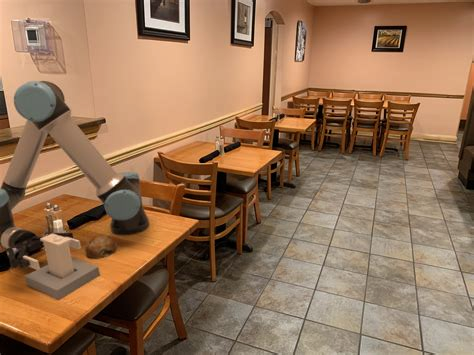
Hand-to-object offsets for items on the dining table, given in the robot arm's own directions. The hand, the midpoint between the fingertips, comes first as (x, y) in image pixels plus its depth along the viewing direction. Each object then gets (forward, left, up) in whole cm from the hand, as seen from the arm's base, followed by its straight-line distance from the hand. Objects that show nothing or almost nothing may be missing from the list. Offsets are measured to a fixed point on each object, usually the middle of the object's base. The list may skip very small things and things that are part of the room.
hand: (59, 254), depth 106 cm
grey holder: (+1, -1, -9) cm, 9 cm away
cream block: (+1, -1, -9) cm, 9 cm away
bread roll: (-9, -16, -9) cm, 21 cm away
